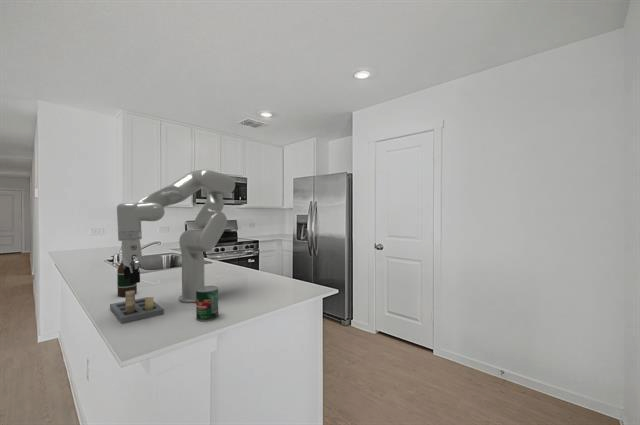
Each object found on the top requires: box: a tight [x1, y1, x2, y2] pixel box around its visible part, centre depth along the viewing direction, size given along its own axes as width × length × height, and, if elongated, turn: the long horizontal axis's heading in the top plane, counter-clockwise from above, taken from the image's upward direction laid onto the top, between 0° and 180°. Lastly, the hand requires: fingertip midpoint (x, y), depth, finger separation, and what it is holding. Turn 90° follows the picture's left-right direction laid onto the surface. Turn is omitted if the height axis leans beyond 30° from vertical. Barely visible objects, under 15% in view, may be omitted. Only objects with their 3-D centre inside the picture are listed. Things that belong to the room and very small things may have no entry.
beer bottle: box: [116, 261, 138, 298], centre depth 142 cm, size 8×8×24 cm
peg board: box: [109, 296, 165, 325], centre depth 119 cm, size 22×14×6 cm, turn 44°
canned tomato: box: [195, 285, 219, 322], centre depth 113 cm, size 8×8×11 cm
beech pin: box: [125, 290, 136, 315], centre depth 113 cm, size 3×3×10 cm
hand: (131, 280), depth 113 cm, fingers open, 9 cm apart
